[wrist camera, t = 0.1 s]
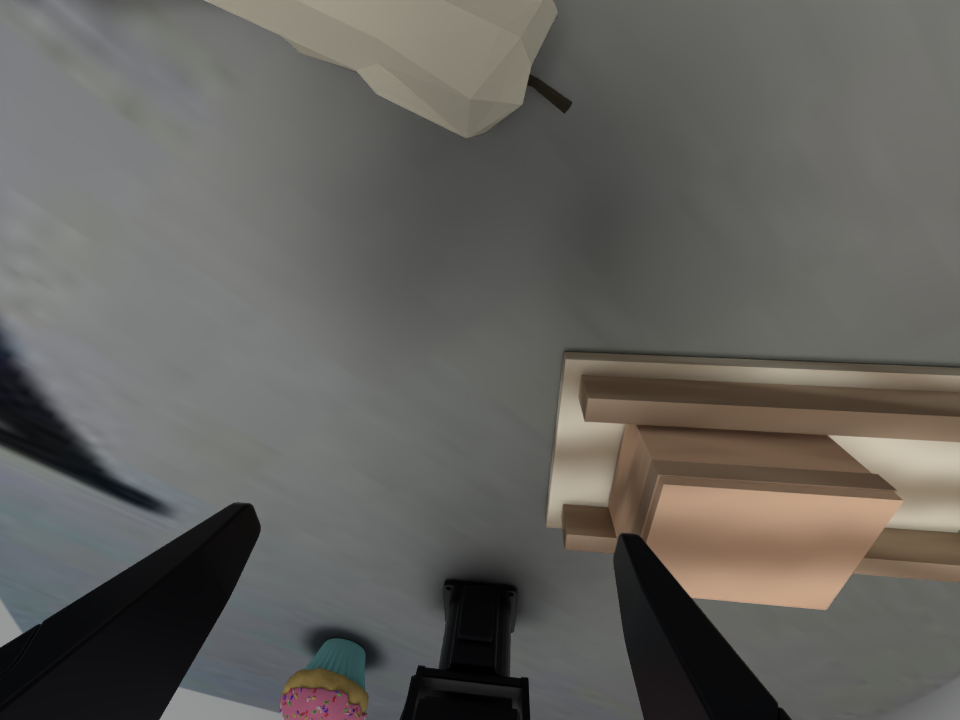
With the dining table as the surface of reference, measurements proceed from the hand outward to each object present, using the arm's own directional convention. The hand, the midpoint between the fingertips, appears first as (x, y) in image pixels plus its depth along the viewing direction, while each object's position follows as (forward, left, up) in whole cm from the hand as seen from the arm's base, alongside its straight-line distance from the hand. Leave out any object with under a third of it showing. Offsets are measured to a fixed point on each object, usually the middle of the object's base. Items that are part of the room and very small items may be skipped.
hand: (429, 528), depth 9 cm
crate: (-9, -14, -14) cm, 21 cm away
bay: (-9, -20, -15) cm, 26 cm away
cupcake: (-39, +15, -15) cm, 44 cm away
